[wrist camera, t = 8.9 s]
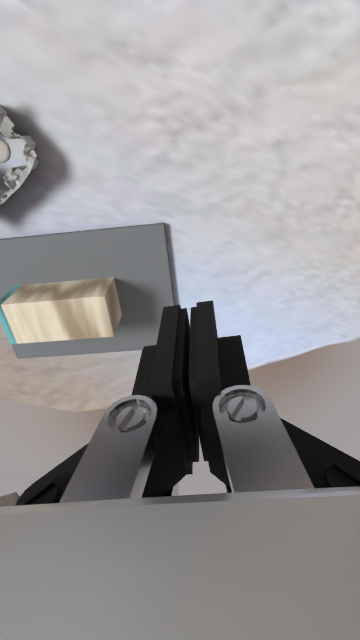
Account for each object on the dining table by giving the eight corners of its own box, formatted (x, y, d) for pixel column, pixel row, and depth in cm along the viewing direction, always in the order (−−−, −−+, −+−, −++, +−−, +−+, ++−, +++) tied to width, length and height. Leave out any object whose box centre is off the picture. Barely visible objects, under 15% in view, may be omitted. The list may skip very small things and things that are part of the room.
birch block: (104, 296, 35) (-7, 305, 35) (114, 336, 37) (10, 344, 38) (113, 277, 39) (14, 285, 40) (121, 314, 41) (28, 321, 42)
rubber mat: (163, 222, 36) (163, 224, 36) (179, 344, 44) (179, 347, 44) (-29, 241, 38) (-32, 243, 37) (19, 355, 46) (17, 358, 45)
